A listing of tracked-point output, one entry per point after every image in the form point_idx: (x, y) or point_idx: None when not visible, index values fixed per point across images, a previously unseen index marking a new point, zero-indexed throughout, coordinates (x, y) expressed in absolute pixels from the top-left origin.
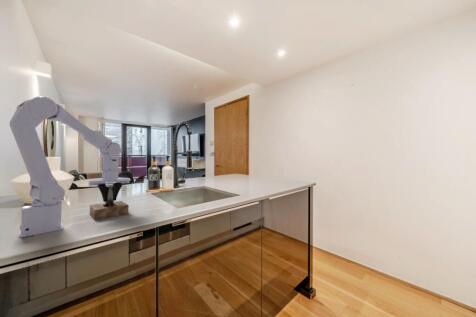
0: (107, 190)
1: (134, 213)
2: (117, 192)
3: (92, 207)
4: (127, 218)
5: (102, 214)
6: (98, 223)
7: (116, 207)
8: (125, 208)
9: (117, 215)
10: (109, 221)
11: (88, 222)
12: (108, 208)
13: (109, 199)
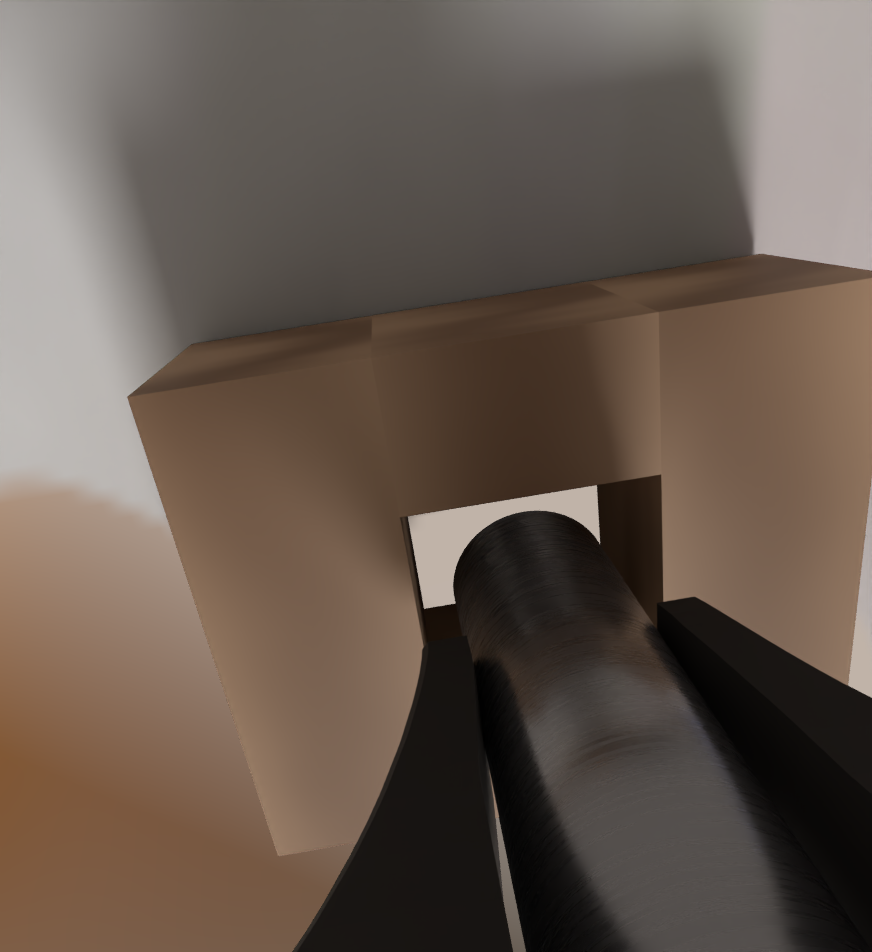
0: (828, 901)
1: (75, 361)
2: (407, 809)
3: (858, 547)
4: (214, 41)
5: (672, 280)
6: (731, 19)
7: (423, 342)
8: (221, 362)
9: (389, 315)
10: (549, 35)
11: (842, 205)
12: (600, 320)
13: (605, 622)
